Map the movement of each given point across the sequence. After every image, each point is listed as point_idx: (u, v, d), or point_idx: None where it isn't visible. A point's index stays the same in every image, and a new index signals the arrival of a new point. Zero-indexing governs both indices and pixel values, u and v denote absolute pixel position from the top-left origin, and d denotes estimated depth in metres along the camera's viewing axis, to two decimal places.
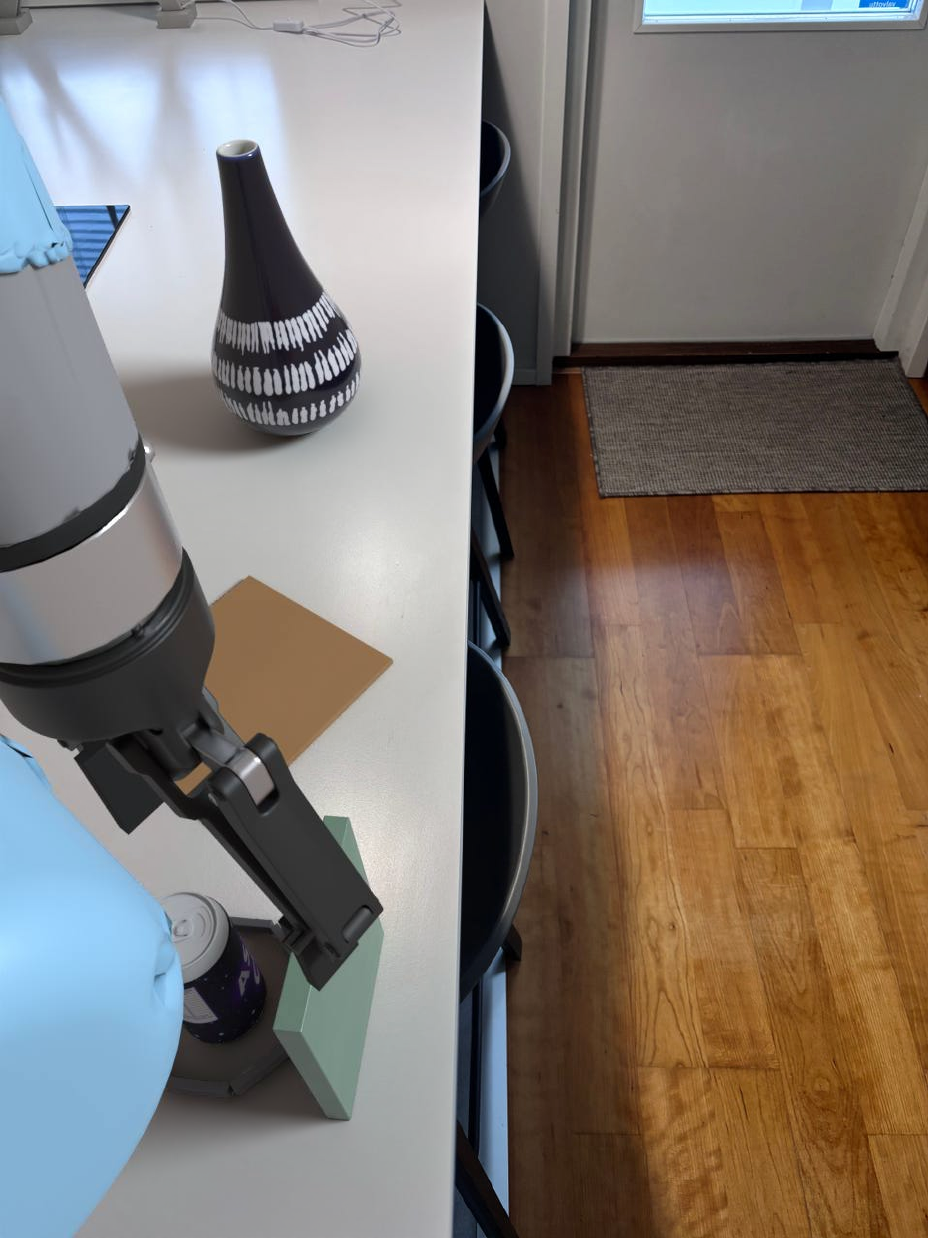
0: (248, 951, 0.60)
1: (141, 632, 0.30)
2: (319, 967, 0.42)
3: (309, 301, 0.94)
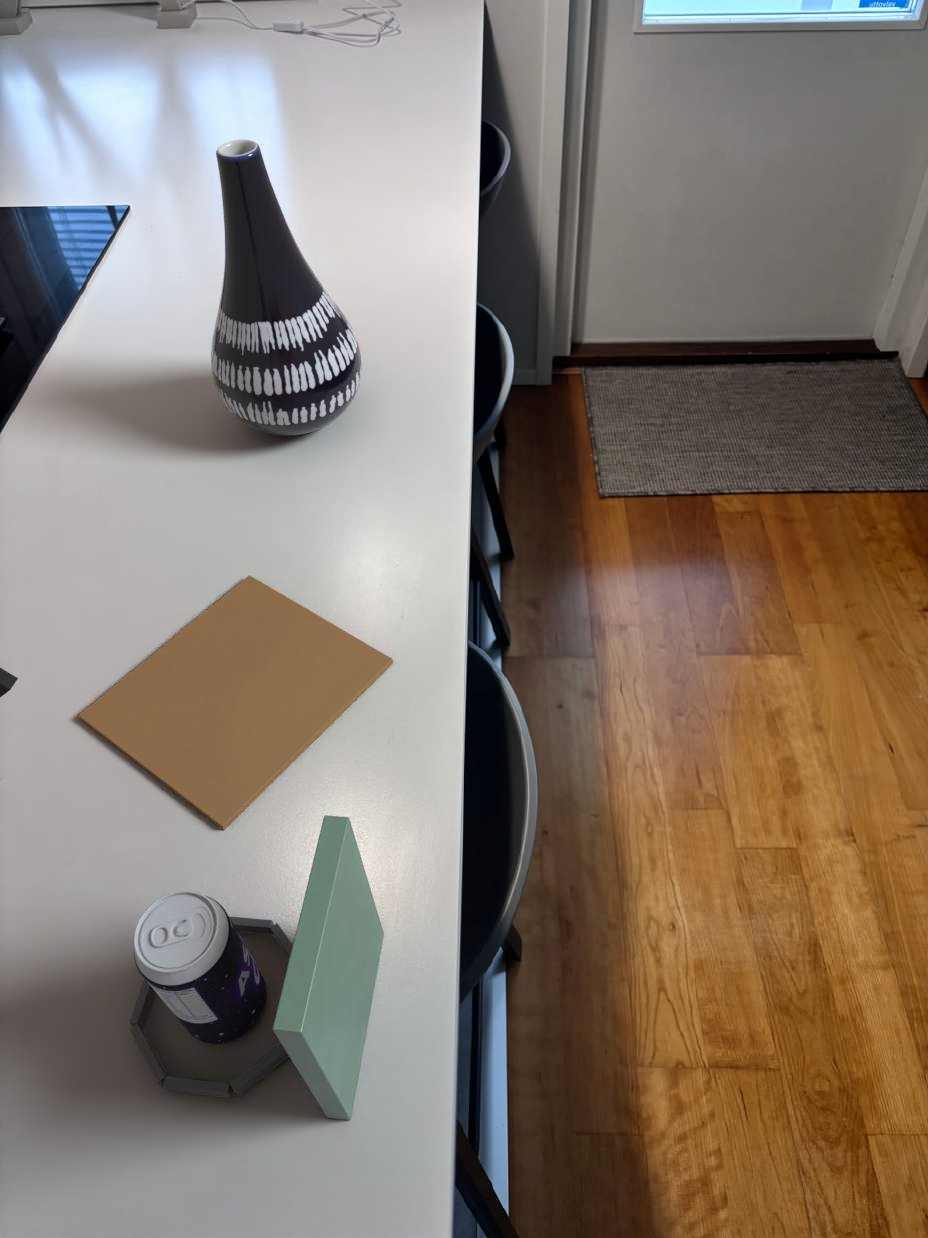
0: (248, 951, 0.60)
1: None
2: None
3: (309, 301, 0.94)
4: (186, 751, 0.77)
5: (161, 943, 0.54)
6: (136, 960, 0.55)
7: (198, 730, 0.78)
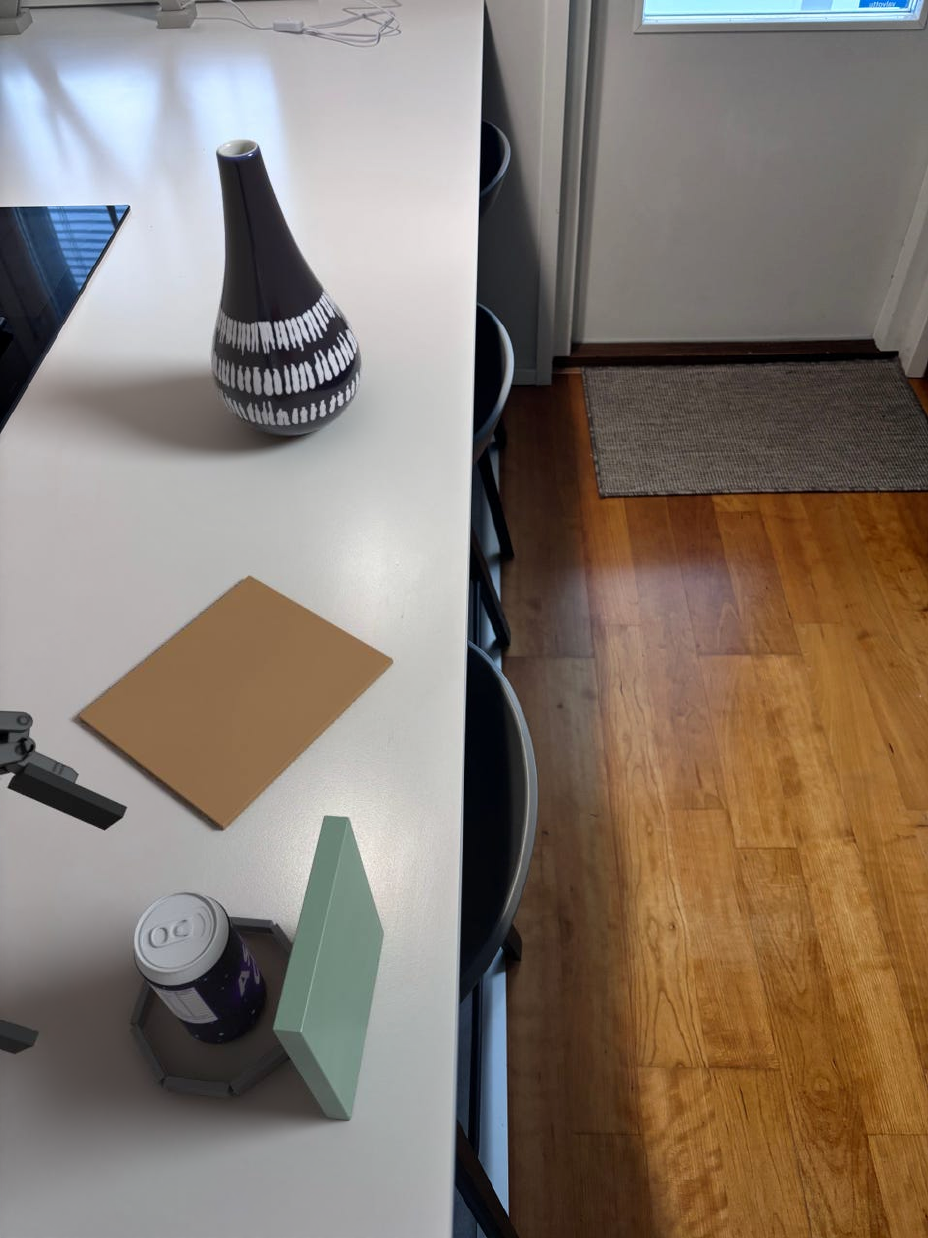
0: (248, 951, 0.60)
1: None
2: None
3: (309, 301, 0.94)
4: (186, 751, 0.77)
5: (161, 943, 0.54)
6: (136, 960, 0.55)
7: (198, 730, 0.78)
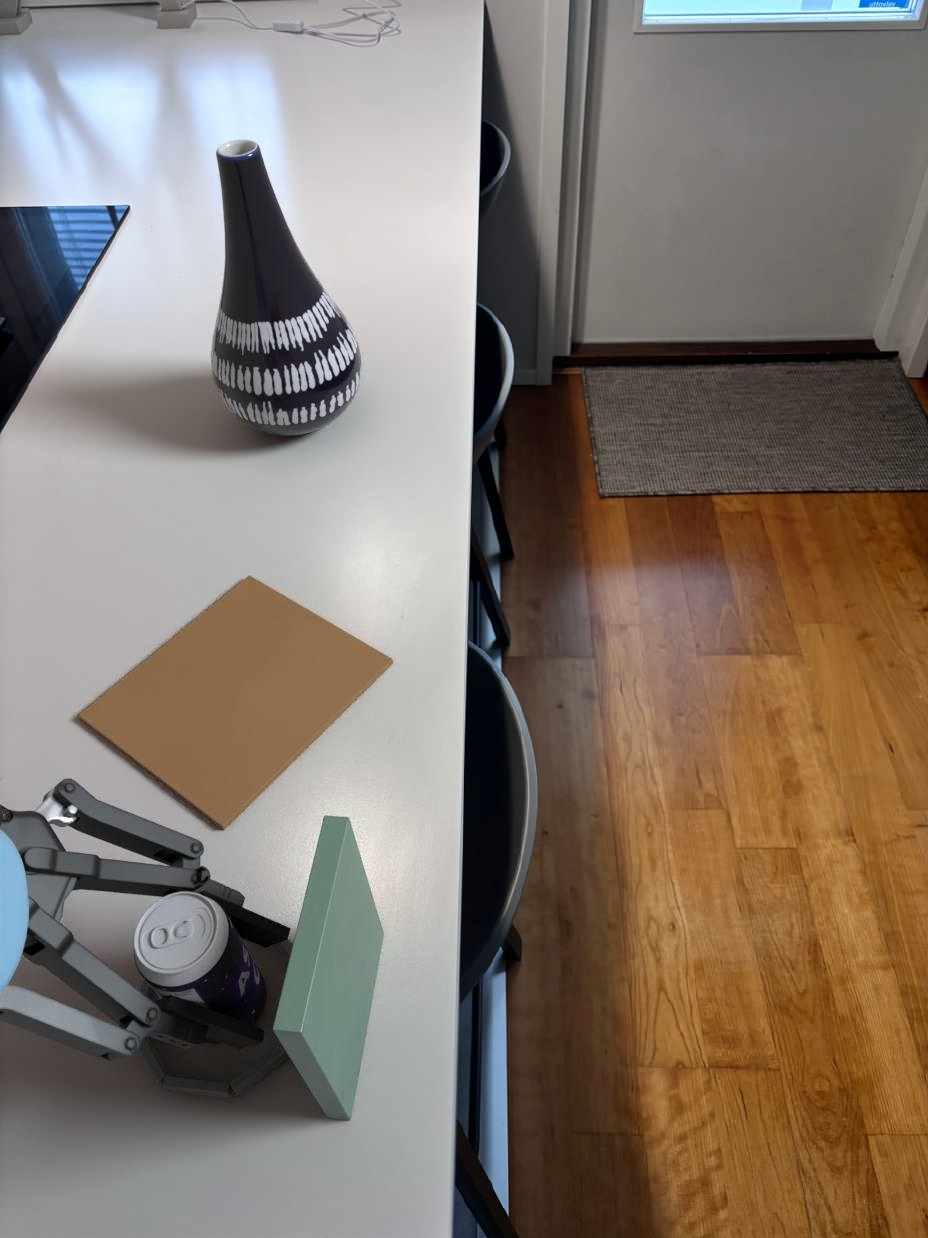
0: (248, 951, 0.60)
1: None
2: None
3: (309, 301, 0.94)
4: (186, 751, 0.77)
5: (161, 944, 0.54)
6: (136, 961, 0.55)
7: (198, 730, 0.78)
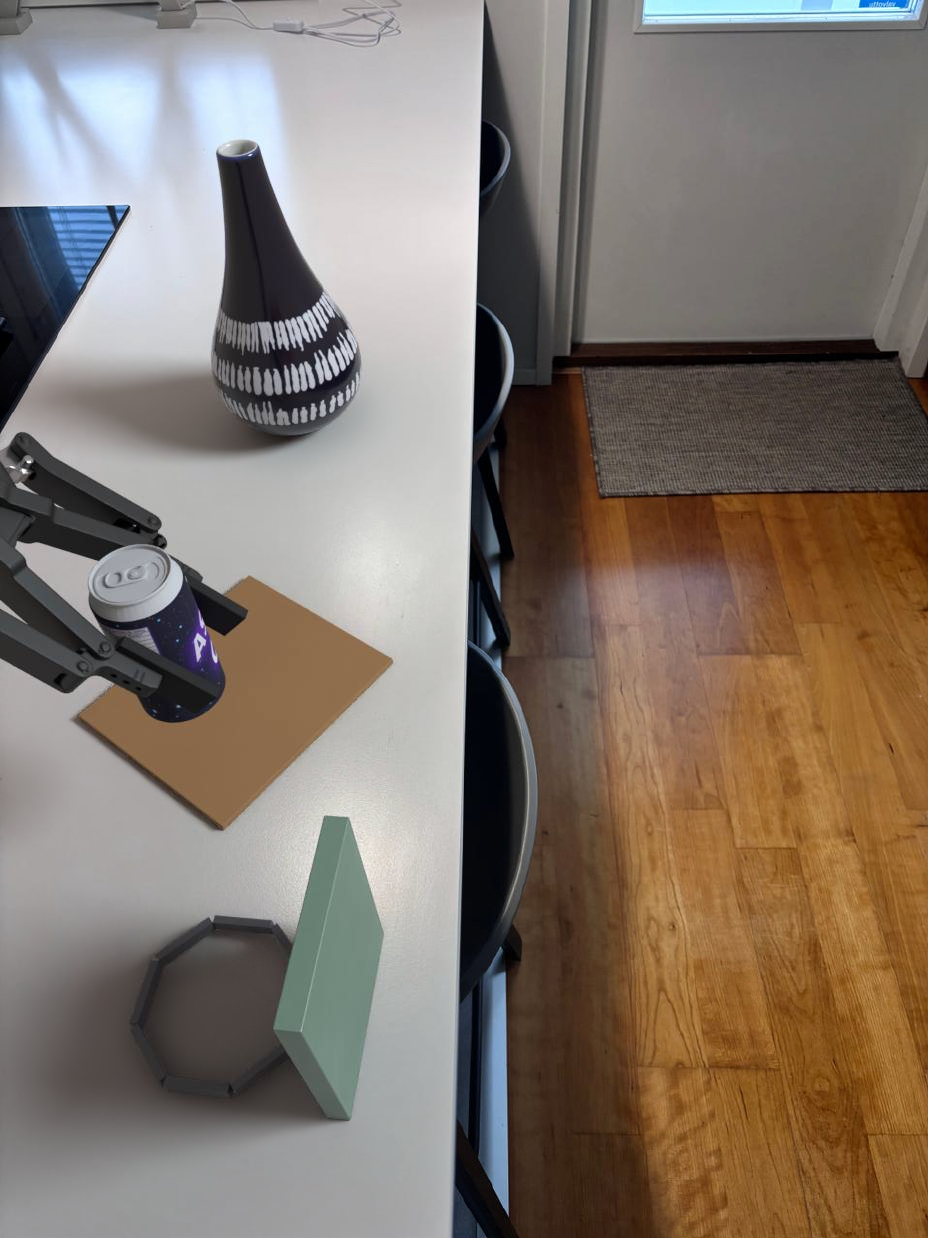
0: (205, 626, 0.61)
1: None
2: None
3: (309, 301, 0.94)
4: (186, 751, 0.77)
5: (115, 584, 0.55)
6: (90, 602, 0.55)
7: (198, 730, 0.78)
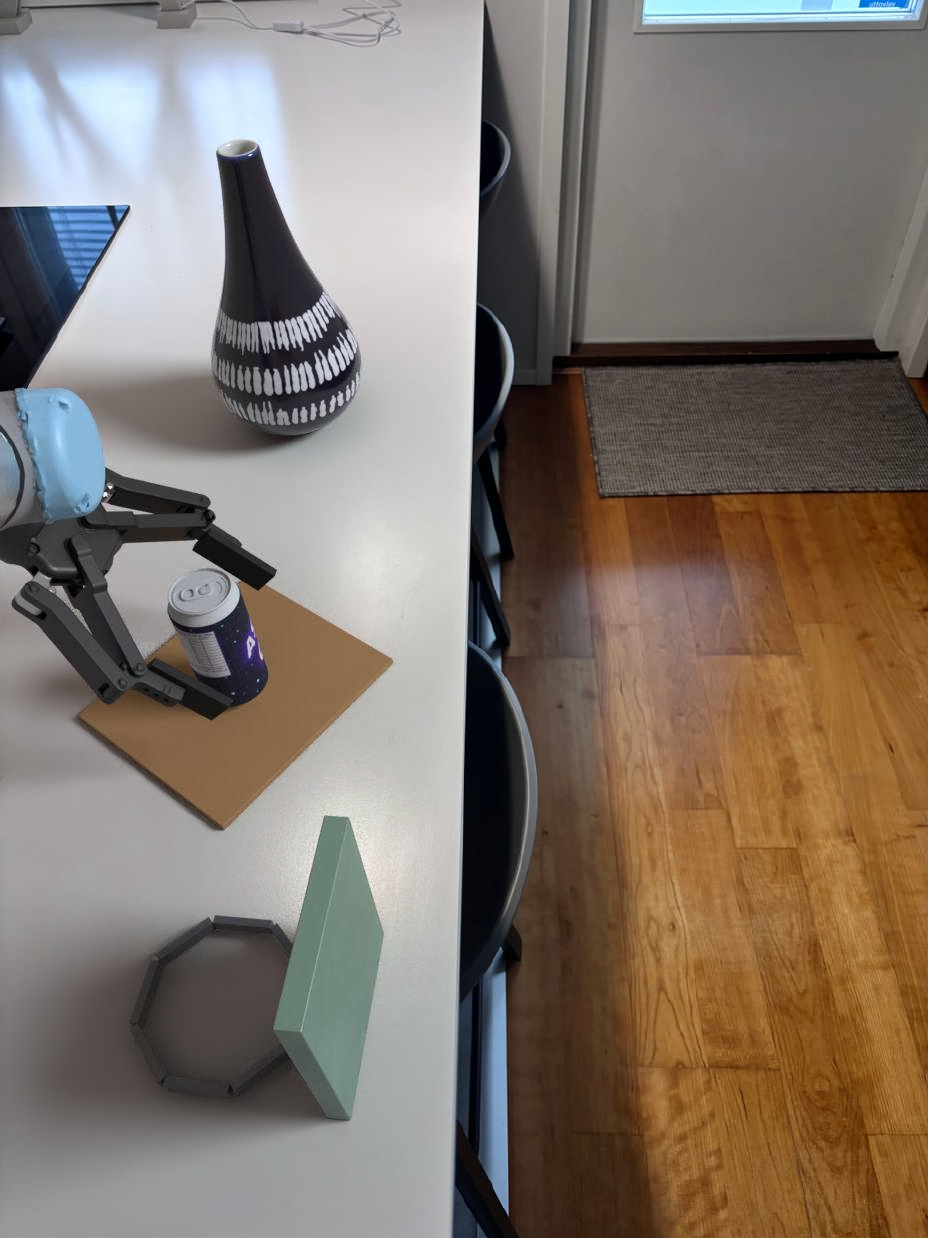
0: None
1: None
2: None
3: (309, 301, 0.94)
4: (186, 751, 0.77)
5: (188, 598, 0.72)
6: (169, 612, 0.72)
7: (198, 730, 0.78)
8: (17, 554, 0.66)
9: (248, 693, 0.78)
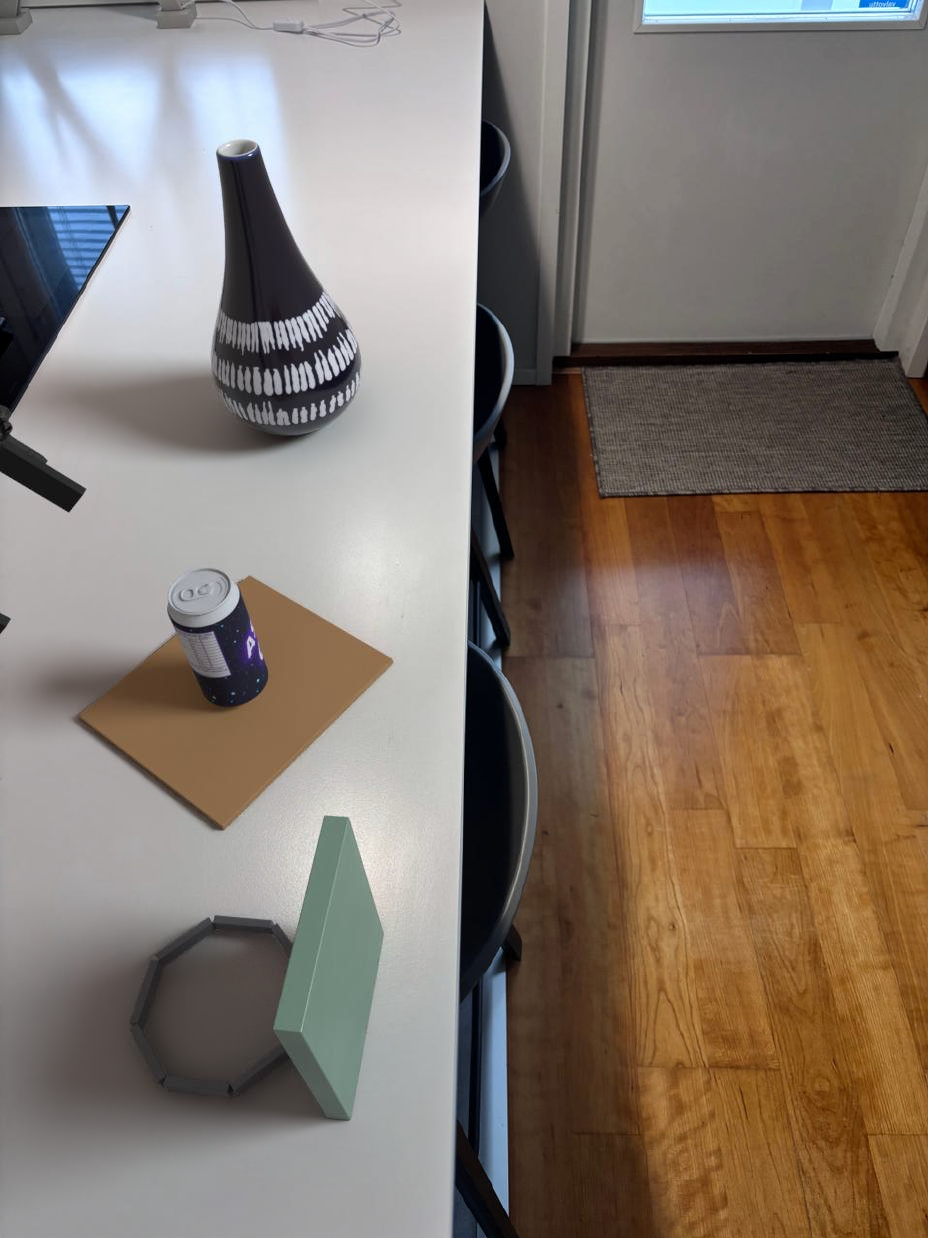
0: None
1: None
2: None
3: (309, 301, 0.94)
4: (186, 751, 0.77)
5: (188, 598, 0.72)
6: (169, 612, 0.72)
7: (198, 730, 0.78)
8: None
9: (248, 693, 0.78)
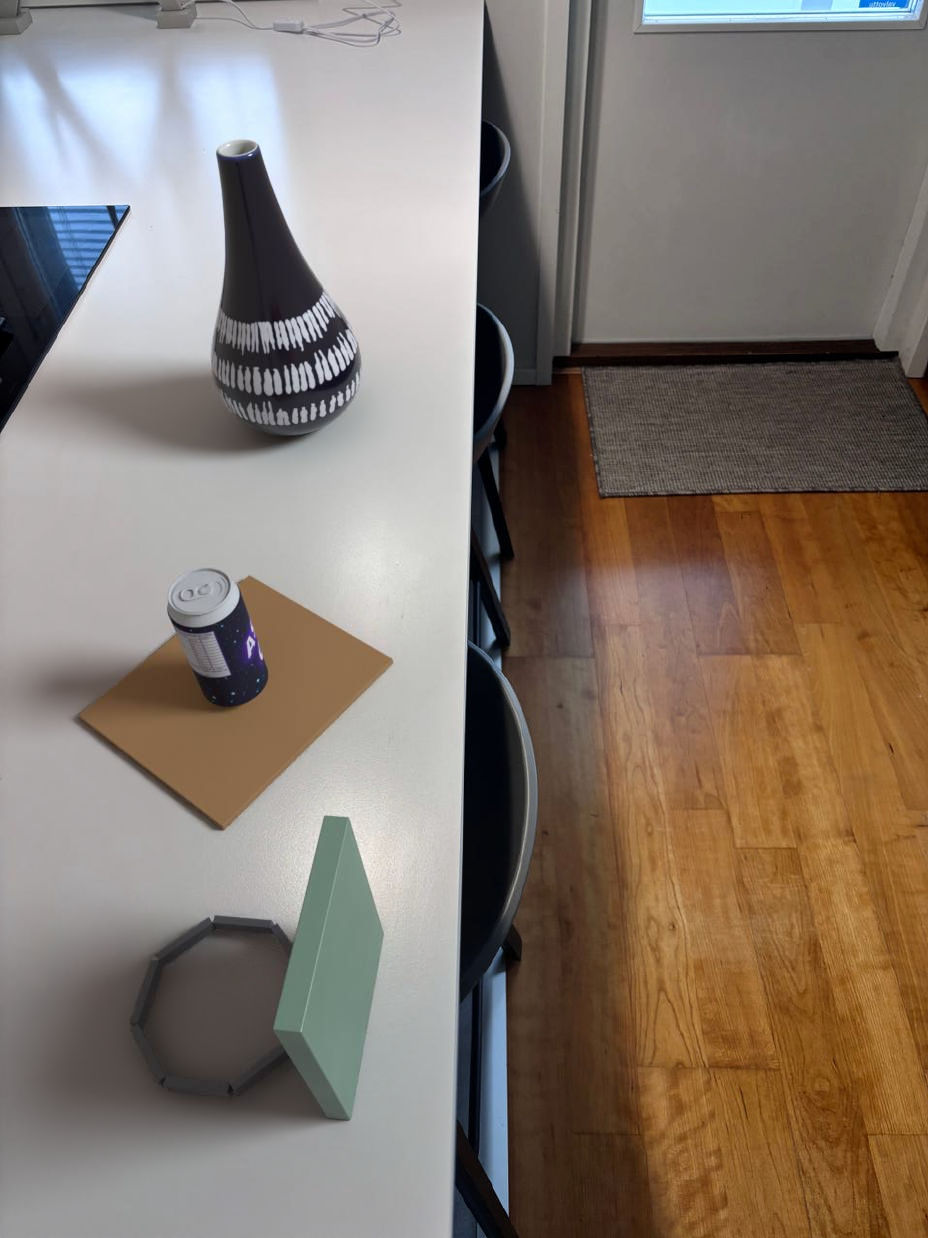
0: (254, 631, 0.78)
1: None
2: None
3: (309, 301, 0.94)
4: (186, 751, 0.77)
5: (188, 598, 0.72)
6: (169, 612, 0.72)
7: (198, 730, 0.78)
8: None
9: (248, 693, 0.78)
